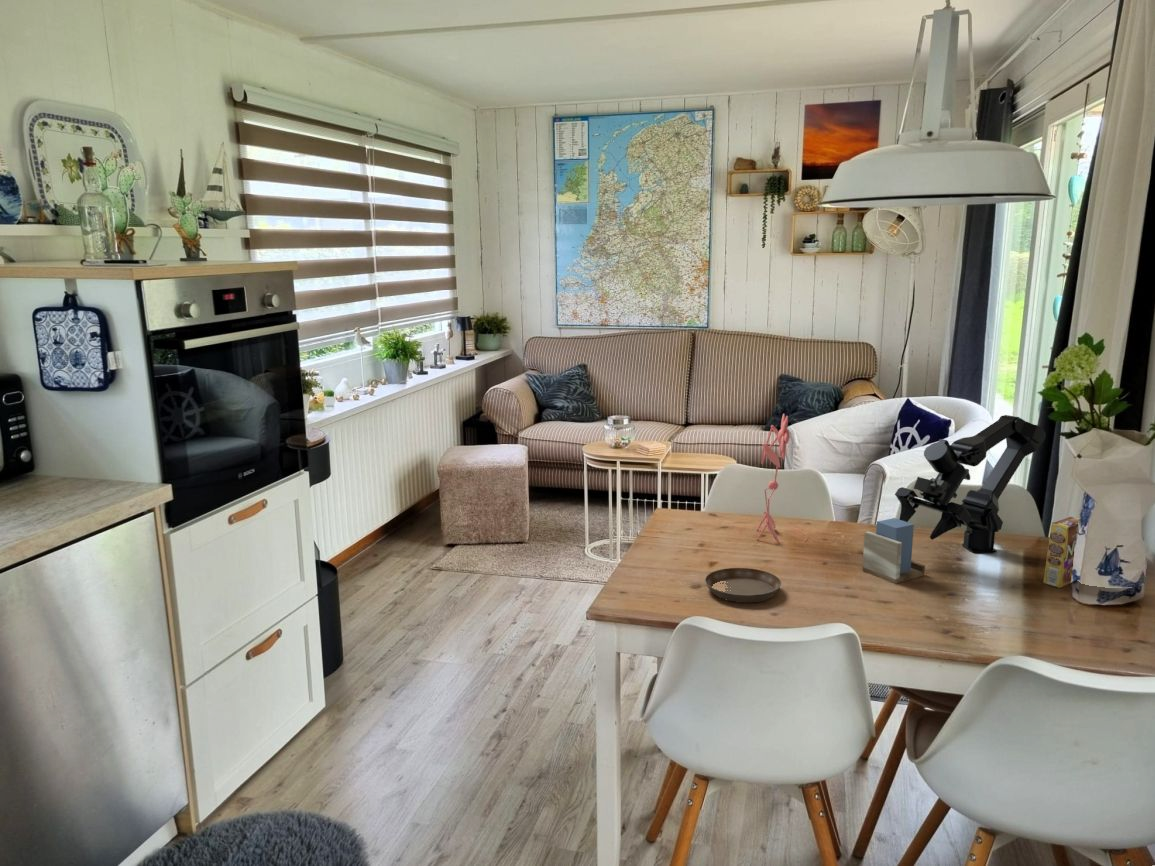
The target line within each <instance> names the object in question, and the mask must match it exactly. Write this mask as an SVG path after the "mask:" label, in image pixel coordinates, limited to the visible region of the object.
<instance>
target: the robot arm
mask: <svg viewBox="0 0 1155 866" xmlns="http://www.w3.org/2000/svg"><path fill="white" fill-rule="evenodd" d="M1046 434H1047V433H1046V431H1045V430H1044V428H1043V426H1042V425H1039V424H1034V423H1032V422H1029V421H1026V420H1024V419H1023V418H1021V417H1020V416H1013V415H1009V414H1008V415H1007V414H1005V415H1004V414H1003V415H1001V416H1000V417H999V419H998V420H996V421H995V422H993V423H991V424H990V425H989V426H987V427H985V428H984V429H983V430H981V431H979V432H978V433H977V434H975V435H972V436H967V437H962V438H960V439H959V438H958V439H957V440H955V441H953V442H952V443H951V444H950V442H949V440H948V439H943V438H940V439H938V442H937V441H936V442H934V443H931V444H930V445H928V446H927V447H925V448H924V451H923V457H924V458H925V460H926V461H927V462H928V463H929V465H930V466H931V467H932V468H933V470H934V471H935V472H936V473H938V474H937V476H936V477H935V478H933V477H931V478H930V479H927V478H924V477H920V476H917V477H916V481H915V483H914V486H913V489H914V490H913V489H910V488H906V487H902V486H901V487H899V488H898V489H896V491H895V493H894V495H895V496H896V498H897V500H898V502H899V503H900V505H901V507H900V515H899V520H902V521H905V522H908V523H909V521H910V520H911V518H912V517H913V516H914V515H915V514H916V512H917V510H916V509H918V508H919V507H920V506H921V507H924V508H927V509H931V510H933V511H937V512H939V513H941V517H940V519H939V521H938V522H937V524H936V525H935V527H934V528H933V530H932V531H931V533H930V536H929V538H930V540H934V539H937V538H939V537H940V536H941V535H944V534H946V533H947V532H949V531H952V530H953V529H955V528H957V527H958V528H961V527H962V526H965V527H966V530H965V531H963V532H964V533H963V534H964V535H963V543H961V545H962V546H963V547H964V548H965V549H967V550H968V551H970V552H971V553H973V554H976V553H977V554H981V553H984V554H985V553H991V554H992V553H998V551H997V550H998V549H995V538H996V533H998V532H999V531H1000V530H1002V527H1003V524H1004V523H1003V520H1002V518H1001V517H1000V515H998V513H999V511H1000V509H999V508H1000V507H999V506H1000V505H999V498H1000V497H1001V496H1002V494H1003V492H1004V490H1005V489H1006V487H1007V486H1008V484H1009V483H1010V482H1011V479H1012V478H1013V476H1014V475H1015V472H1017V469H1018V468H1019V466H1020V465H1021V463H1022V462H1023V461H1024V459H1025V457H1028V456H1029V455H1031V454H1033V453H1035V452H1036V451H1038V449H1039V448H1040V446H1042V444H1043V443H1044V442H1045V440H1046V437H1047V435H1046ZM1004 440H1006V447H1005V449H1004V451H1003V452H1002V454H1001V456H1000V457H999V458H998V460H997V462H996V464H995V465H994V467H993V468H992V470H990V471H991V472H990V473H989V475H988V476H987V477H986V478H985V480H984V482H983V484H982V486H981V487H980V488H979V489H978V490H973V489H969V490H968V492H967V493H966V496H965V497H964V498H963V499H962V500H961V502H962V503H961V504H960V503H956V502H954V501H953V502H952V501H951V500H952V498H953V499H956V498H957V496H958V494H957V493H956V492H957V491H958V489H959V487H960V486H961V485H962V483H963V482H964V480H966V481H970V480H971V474H970V469H968V468H965V466H964V465H966V466H970V467H977V466H979V465H980V464H981V463H982V462H983V461H984V460H985V459H986V458H987V453H988V451H989V450H990V449H992V448H994V447H995V446H997V445H998V444H1000V443H1001V442H1003V441H1004ZM915 490H918V491H920V492H919V495H920V496H922V497H920V496H918V495H917V493H916V492H915Z"/></svg>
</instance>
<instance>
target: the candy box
mask: <svg viewBox="0 0 1155 866" xmlns="http://www.w3.org/2000/svg"><path fill="white" fill-rule="evenodd" d="M1079 519H1080V518H1078V517H1073V516H1069V517H1066V518H1064V519H1063V518H1062V519H1061V520H1058V521H1055V522H1051V523H1050V532H1049V539H1048V540H1049V541H1048V546H1047V552H1046V553H1047V554H1046V561H1045V569H1044V575H1043V584H1045V585H1049V586H1052V587H1054V588H1058V589H1060V588H1063V587H1066V586H1068V585H1070V584H1071V583H1070V581H1071V574H1072V567H1073V558H1074V548H1075V540H1076V534H1077V529H1078V521H1079Z"/></svg>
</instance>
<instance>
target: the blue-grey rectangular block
mask: <svg viewBox="0 0 1155 866" xmlns="http://www.w3.org/2000/svg"><path fill="white" fill-rule="evenodd" d="M899 519H900V518H899ZM899 519H898V518H897V517H896V518H895V517H892V518H887V519H883V520H879V521H876V529H875V534H878V535H881V536H884V537H887V538H890V539H893V540H896V541H898V542H901V543H902V549H901V564H900V574H901V573H905V572H909V571H911V561H912V554H913V544H914V543H913V542H914V541H913V540H914V527H915V526H914V525H915V524H914V523H911V522H909V521H908V522H905V521H902V520H899Z"/></svg>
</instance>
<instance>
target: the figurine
mask: <svg viewBox="0 0 1155 866" xmlns="http://www.w3.org/2000/svg"><path fill="white" fill-rule="evenodd" d="M780 421H781V422H780V429H779V430H778V429H777V428H776V427H775V425H773V424H771V425H770V430H769V433H768V436H767V439H766V442H765V443H763V444H762V445H761V447H762V448H761V449H762V450H761V460H760V464H761V465H764V462H765V457H766V458H767V459H768V460H769V461H770V462H771V463H772V464H774V465H775V475H774V480H770V482H769V483H768V487H767V488H765V489H764V498H765V505H766V510H764V511H763V514H764V517H763V518H762V520H761V521H760V523H759V524H758V525H757V528H756V529H755V530H756V531H759V530H760V528H761V526H762V524H763V523H764V522H765V525H764V526H763V528H762V530H761V531H760V533H759V534H758V536H757V538H756V541H757V542H758V541H759V540H760V538H761V537H762V536H763V533H764V531H765V530H766V528H767V530H768V531H769V533H770V534H771V536H772V537H773V539H775V540H776V542H777V543H778V544H780V540H779V537H778V535H777V533H776V531H775V529H776V523H775V521H774V519H773V517H772V515H770V499H771V497H772V495H773V494H774V492H775V491H776V490H777V489H778V488H779V483H778V482H777V476H778V471H779V469H781V462H780V459H779V458H782V460H785V458H786V453H787V452H786V451H787V444H788V443H789V441H790V438H791V436H790V434H791V433H790V430H789V429H788V426H789V425H788V424H789V416H788V415H785V413H783V414H782V417H781V420H780ZM772 431H773V433H774V434H775V436H776V437H775V439H774V440H773V441H772V443H771V444H770V445H769V441H770V438H771V435H772ZM776 442H777V443H778V444H779V449H778V455H777V454H776V452H775V451H774V450H773V449H772V447H773V446H774V444H775V443H776ZM768 445H769V446H768ZM778 456H779V458H778ZM767 490H771V493H770V495H769V497H768V499H767ZM789 528H793V529H796V530H798V531H800V532H802V533H803V534H805V532H804V530H803V529H798V528H796V527H793V526H790V525H789ZM807 541H808V539H807V540H806V541H804V543H806V542H807ZM753 547H756V545H753ZM757 547H759V548H760V547H761V546H760V545H757Z"/></svg>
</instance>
